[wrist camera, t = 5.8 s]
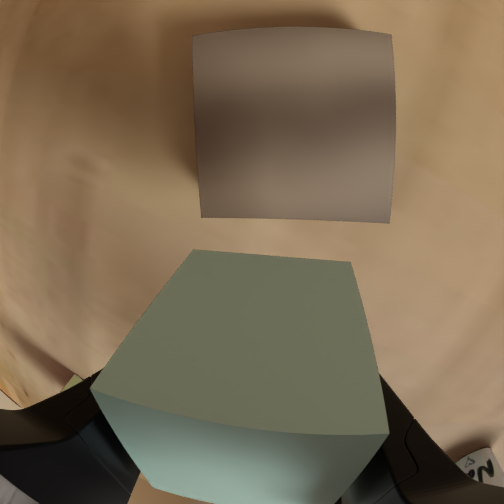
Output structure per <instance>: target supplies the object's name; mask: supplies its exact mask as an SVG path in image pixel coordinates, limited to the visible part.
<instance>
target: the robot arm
mask: <svg viewBox="0 0 504 504" xmlns="http://www.w3.org/2000/svg"><path fill="white" fill-rule="evenodd" d="M102 370H103V369H101V370H100V371H98V372H96V373H95V374H93V375H92V376H91V377H88V378H86V379H84V380H83V381H81V382H79V383H77V384H76V385H74V386H72V387H70V388H68V389H66V390H64V391H62V392H60V393H58V394H56V395H54V396H52V397H50V398H48V399H45V400H43V401H41V402H39V403H36V404H34V405H32V406H30V407H27V408H24V409H21V410H4V409H0V504H127V503H128V501H129V498H130V496H131V493H132V491H133V488H134V486H135V483H136V481H137V479H138V476H139V474H140V472H141V471H140V469H139V468H138V467H137V465H136V464H135V462H134V461H133V460H132V458H131V457H130V455H129V454H128V452H127V451H126V449H125V448H124V446H123V445H122V443H121V442H120V440H119V439H118V437H117V435H116V434H115V432H114V431H113V429H112V427H111V426H110V424H109V422H108V421H107V419H106V417H105V415H104V414H103V412H102V410H101V408H100V407H99V405H98V403H97V401H96V399H95V398H94V396H93V394H92V392H91V390H90V387H91V386H92V384H93V383H94V381H95V380H96V378H97V377H98V376H99V374H100V373H101V371H102ZM379 377H380V382H381V387H382V392H383V398H384V403H385V409H386V415H387V421H388V427H389V435H388V436H387V438H386V439H385V441H384V442H383V444H382V445H381V446H380V448H379V449H378V451H377V452H376V453H375V455H374V456H373V458H372V459H371V460H370V462H369V463H368V464H367V465H366V467H365V468H364V469H363V471H362V472H361V473H360V474H359V476H358V477H357V478H356V479H355V481H354V482H353V483H352V484H351V485H350V487H349V488H348V489H347V490H346V491H345V492H344V494H343V495H342V496H341V497H340V498H339V499H338V500H337V501H336V503H335V504H504V487H500V486H495V485H491V484H486V483H482V482H479V481H476V480H474V479H473V478H471V477H470V476H468V475H467V474H466V473H465V472H464V471H463V470H462V469H461V468H460V467H459V466H458V465H457V464H456V463H455V462H454V461H453V460H452V459H451V458H450V457H449V456H448V455H447V454H446V453H445V452H444V451H443V450H442V449H441V448H440V447H439V446H438V445H437V444H436V443H435V442H434V441H433V440H432V439H431V437H430V436H429V435H428V434H427V433H426V431H425V430H424V429H423V428H422V427H421V425H420V424H419V423H418V421H417V420H416V419H414V417H413V415H412V414H411V413H410V411H409V410H408V409H407V408H406V406H405V405H404V404H403V403H402V401H401V400H400V399H399V398H398V396H397V395H396V394H395V392H394V391H393V390H392V389H391V387H390V386H389V385H388V384H387V382H386V381H385V380H384V379H383V377H382V376H381V375H380V374H379Z"/></svg>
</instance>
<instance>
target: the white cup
mask: <svg viewBox="0 0 504 504" xmlns="http://www.w3.org/2000/svg"><path fill="white" fill-rule="evenodd" d="M456 464H457V465H458V466H459V467H460V468H461V469H462V470H463V471H464V472H465V473H466V474H467V475H468V476H470V477H471V478H473V479H474V480H476V481H479V482H482V483H486V484H491V485H495V486H500V487H504V473H503V471H502V469H501V467H500V465H499V463H498V461H497V459H496V457H495V455H494V453H493V452H492V450H491V449H490V448H483V449H480V450H477V451H474V452H472V453H470V454H468V455H466V456H465V457H463V458H462V459H460V460H459V461H457V462H456Z"/></svg>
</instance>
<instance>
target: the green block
mask: <svg viewBox="0 0 504 504" xmlns="http://www.w3.org/2000/svg"><path fill="white" fill-rule="evenodd" d="M90 390H91V392H92V394H93V396H94V398H95V399H96V401H97V403H98V405H99V407H100V408H101V410H102V412H103V414H104V415H105V417H106V419H107V421H108V422H109V424H110V426H111V427H112V429H113V431H114V432H115V434H116V435H117V437H118V439H119V440H120V442H121V443H122V445H123V446H124V448H125V449H126V451H127V452H128V454H129V455H130V457H131V458H132V460H133V461H134V462H135V464H136V465H137V467H138V468H139V469H140V471H141V472H142V474H143V475H144V476H145V478H146V479H147V480H148V481H149V483H150V484H151V485H152V487H154V488H156V489H160V490H163V491H166V492H170V493H174V494H177V495H180V496H184V497H188V498H192V499H196V500H201V501H205V502H210V503H215V504H335V503H336V501H337V500H338V499H339V498H340V497H341V496H342V495H343V494H344V492H345V491H346V490H347V489H348V488H349V487H350V485H351V484H352V483H353V482H354V481H355V479H356V478H357V477H358V476H359V474H360V473H361V472H362V471H363V469H364V468H365V467H366V465H367V464H368V463H369V462H370V460H371V459H372V458H373V456H374V455H375V453H376V452H377V451H378V449H379V448H380V446H381V445H382V444H383V442H384V441H385V439H386V438H387V436H388V435H389V427H388V421H387V415H386V409H385V403H384V398H383V392H382V387H381V382H380V377H379V372H378V367H377V362H376V358H375V353H374V349H373V344H372V340H371V336H370V332H369V327H368V323H367V319H366V315H365V311H364V308H363V304H362V300H361V296H360V293H359V289H358V285H357V282H356V278H355V275H354V271H353V268H352V265H351V262H343V261H331V260H318V259H305V258H293V257H280V256H268V255H256V254H243V253H231V252H218V251H206V250H194V249H193V251H192V252H191V253H190V254H189V256H188V257H187V258H186V259H185V261H184V262H183V263H182V264H181V266H180V267H179V268H178V269H177V271H176V272H175V273H174V274H173V276H172V277H171V278H170V280H169V281H168V282H167V283H166V285H165V286H164V287H163V289H162V290H161V291H160V293H159V294H158V295H157V296H156V298H155V299H154V300H153V302H152V303H151V304H150V306H149V307H148V308H147V310H146V311H145V312H144V314H143V315H142V316H141V318H140V319H139V320H138V322H137V323H136V324H135V326H134V327H133V328H132V330H131V331H130V332H129V334H128V335H127V336H126V338H125V339H124V341H123V342H122V343H121V345H120V346H119V347H118V349H117V350H116V352H115V353H114V354H113V356H112V357H111V359H110V360H109V361H108V363H107V364H106V366H105V367H104V368H103V370H102V371H101V373H100V374H99V376H98V377H97V378H96V380H95V381H94V383H93V384H92V386H91V387H90Z"/></svg>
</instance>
